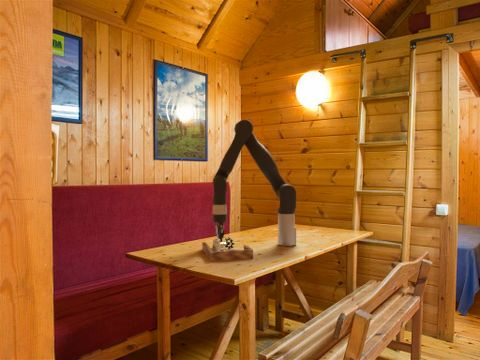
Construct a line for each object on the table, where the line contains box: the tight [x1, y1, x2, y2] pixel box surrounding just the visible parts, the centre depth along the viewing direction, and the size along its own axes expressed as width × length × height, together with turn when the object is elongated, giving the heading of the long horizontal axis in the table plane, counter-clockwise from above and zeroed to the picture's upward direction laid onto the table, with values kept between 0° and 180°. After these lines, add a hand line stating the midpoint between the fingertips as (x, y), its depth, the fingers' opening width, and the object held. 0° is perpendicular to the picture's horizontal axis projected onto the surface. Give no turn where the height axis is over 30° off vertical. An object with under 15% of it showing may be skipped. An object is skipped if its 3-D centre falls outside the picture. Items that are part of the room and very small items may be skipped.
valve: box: [212, 236, 235, 252], centre depth 189 cm, size 7×7×12 cm
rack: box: [201, 241, 254, 262], centre depth 182 cm, size 20×26×5 cm
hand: (220, 245), depth 197 cm, fingers closed
